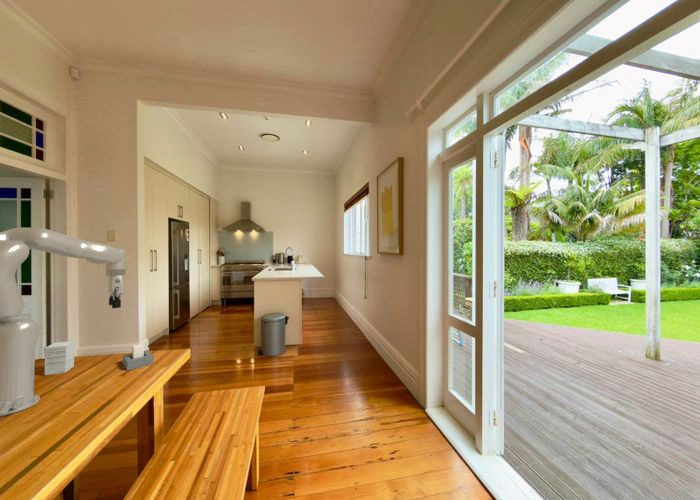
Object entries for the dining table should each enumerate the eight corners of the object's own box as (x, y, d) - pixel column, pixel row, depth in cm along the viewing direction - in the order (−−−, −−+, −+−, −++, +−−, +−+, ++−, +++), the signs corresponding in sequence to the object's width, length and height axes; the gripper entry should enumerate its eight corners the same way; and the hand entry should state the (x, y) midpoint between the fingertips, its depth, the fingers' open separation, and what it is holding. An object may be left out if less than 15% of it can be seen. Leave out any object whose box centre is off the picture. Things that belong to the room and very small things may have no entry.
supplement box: (53, 369, 124) (54, 342, 124) (74, 366, 127) (75, 340, 127) (43, 375, 117) (44, 347, 118) (65, 372, 121) (66, 345, 121)
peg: (143, 363, 132) (144, 345, 132) (133, 366, 129) (133, 347, 129) (141, 361, 135) (142, 343, 135) (131, 363, 132) (132, 345, 132)
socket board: (153, 364, 132) (153, 356, 132) (127, 370, 124) (127, 362, 124) (147, 357, 139) (147, 350, 139) (122, 363, 132) (122, 355, 132)
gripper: (128, 273, 131) (127, 307, 130) (122, 271, 142) (121, 303, 142) (108, 274, 125) (107, 310, 125) (103, 272, 136) (102, 305, 136)
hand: (114, 306), depth 133 cm, fingers open, 9 cm apart
